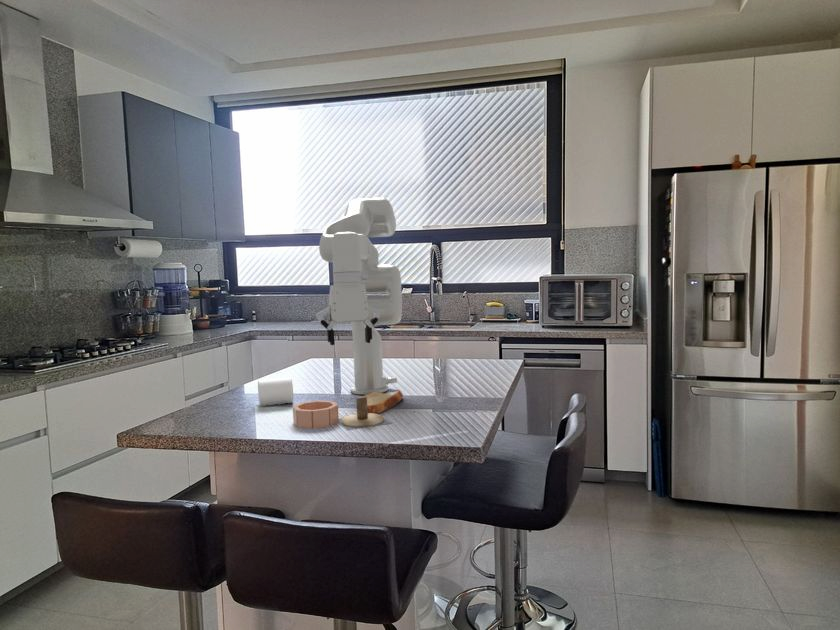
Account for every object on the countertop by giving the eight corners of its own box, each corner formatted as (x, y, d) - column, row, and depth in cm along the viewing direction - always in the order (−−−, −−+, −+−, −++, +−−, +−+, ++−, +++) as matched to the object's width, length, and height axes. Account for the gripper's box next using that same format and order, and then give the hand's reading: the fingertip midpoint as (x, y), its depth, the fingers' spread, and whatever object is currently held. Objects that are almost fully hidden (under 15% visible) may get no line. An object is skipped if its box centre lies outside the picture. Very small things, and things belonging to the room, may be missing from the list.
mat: (376, 415, 161) (376, 413, 161) (392, 425, 151) (392, 423, 150) (334, 421, 157) (334, 419, 157) (347, 432, 146) (347, 430, 146)
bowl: (331, 416, 162) (330, 399, 162) (342, 426, 152) (341, 407, 151) (290, 422, 157) (290, 404, 157) (300, 432, 147) (299, 412, 147)
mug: (294, 405, 178) (292, 379, 177) (260, 409, 174) (258, 382, 174) (289, 397, 189) (288, 373, 188) (258, 400, 186) (256, 376, 185)
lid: (375, 414, 161) (374, 391, 160) (389, 423, 151) (388, 399, 150) (336, 419, 156) (335, 396, 156) (348, 429, 146) (347, 404, 146)
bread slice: (368, 415, 159) (368, 401, 159) (341, 405, 175) (340, 393, 174) (423, 405, 169) (423, 392, 169) (393, 397, 184) (392, 385, 184)
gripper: (376, 278, 160) (378, 340, 161) (313, 280, 155) (315, 344, 156) (382, 278, 153) (385, 342, 154) (316, 280, 148) (319, 347, 149)
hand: (350, 343), depth 155 cm, fingers open, 9 cm apart
